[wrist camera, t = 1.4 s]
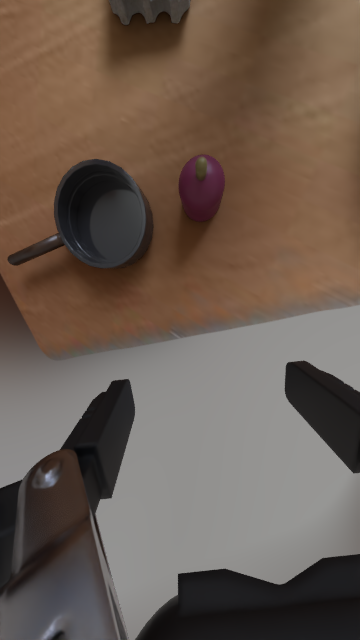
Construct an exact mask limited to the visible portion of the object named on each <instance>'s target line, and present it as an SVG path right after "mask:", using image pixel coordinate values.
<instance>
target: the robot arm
mask: <svg viewBox="0 0 360 640" xmlns="http://www.w3.org/2000/svg"><path fill="white" fill-rule="evenodd" d="M285 394H286V397H287V399H288V400H289V402H290V403H291V404H292V405H293V407H294V408H295V409H296V410H297V411H298V412H299V413H300V415H301V416H302V417H303V418H304V419H305V420H306V421H307V422H308V423H309V425H310V426H311V427H312V428H313V429H314V430H315V431H316V432H317V433H318V435H319V436H320V437H321V438H322V439H323V440H324V441H325V442H326V443H327V445H328V446H329V447H330V448H331V449H332V450H333V451H334V452H335V453H336V455H337V456H338V457H339V458H340V459H341V460H342V461H343V462H344V463H345V464H346V466H347V467H348V468H349V469H350V470H351V471H352V472H353V473H360V392H358V391H357V390H354V389H353V388H352V387H350V386H349V385H347V384H344V382H343V381H341V380H339V379H338V378H336V377H335V376H333V375H331V374H329V373H326V372H324V371H321V370H319V369H317V368H316V367H314V366H313V365H311V364H310V363H308V362H306V361H297V362H288V363H287V365H286V376H285ZM134 416H135V406H134V400H133V395H132V390H131V385H130V381H129V380H128V379H124V380H115V381H112V382H111V384H110V386H109V388H108V389H107V391H106V392H102V393H101V394H99V395H98V396H97V397H96V398H95V399H93V401H92V402H91V404H90V405H89V407H88V408H87V411H85V413H84V414H83V416H82V419H80V420H79V422H78V423H77V425H76V426H75V428H74V429H73V431H72V432H71V434H70V435H69V437H68V438H67V440H66V441H65V443H64V445H63V446H62V447H61V449H60V450H59V451H56V452H53V453H51V454H50V455H48V456H46V457H45V458H43V459H42V460H40V461H39V462H38V463H37V464H36V465H34V466H33V467H32V468H31V469H30V471H29V472H28V473H27V475H26V476H25V477H24V479H23V480H21V481H18V482H15V483H13V484H10V485H7V486H5V487H3V488H0V640H129V637H128V633H127V630H126V626H125V622H124V619H123V615H122V611H121V608H120V604H119V601H118V598H117V594H116V591H115V587H114V583H113V579H112V575H111V572H110V568H109V564H108V560H107V556H106V553H105V549H104V545H103V541H102V537H101V533H100V529H99V526H98V522H97V518H96V514H95V513H96V510H97V507H98V504H99V501H100V499H107V498H112V494H113V490H114V487H115V483H116V480H117V476H118V473H119V470H120V466H121V462H122V459H123V456H124V452H125V449H126V445H127V442H128V438H129V434H130V431H131V428H132V424H133V421H134ZM135 640H360V554H357V555H348V556H338V557H329V558H322V559H321V560H319V561H318V562H316V563H315V564H313V565H312V566H310V567H309V568H307V569H306V570H304V571H303V572H301V573H300V574H298V575H297V576H295V577H294V578H292V579H291V580H289V581H288V582H287V583H285V584H281V585H278V584H274V583H270V582H267V581H264V580H260V579H257V578H254V577H250V576H247V575H244V574H241V573H237V572H234V571H231V570H228V569H219V570H209V571H200V572H191V573H181V574H178V595H177V596H175V597H174V598H172V599H170V600H169V601H168V602H167V603H166V604H164V605H163V606H162V607H161V608H160V609H159V610H158V611H157V612H156V613H155V614H154V615H153V616H152V618H151V619H150V620H149V621H148V622H147V623H146V625H145V626H144V628H143V629H142V630H141V632H140V633H139V635H138V636H137V638H136V639H135Z"/></svg>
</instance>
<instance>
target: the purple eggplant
mask: <svg viewBox="0 0 360 640" xmlns="http://www.w3.org/2000/svg"><path fill="white" fill-rule="evenodd" d="M224 186H225V177H224V172H223V169H222V167H221V165H220V164H219V162H218V161H217V160H216V159H215V158H213V157H211V156H209V155H198V156H195V157H193V158H192V159H190V160H189V161H188V162H187V163H186V164H185V166H184V167H183V169H182V171H181V174H180V177H179V194H180V198H181V201H182V204H183V208H184V211H185V213H186V214H187V216H188V217H189V218H191V219H192V220H194V221H199V222H202V221H206V220H209V219H210V218H212V217H213V216H214V215H215V214H216V212H217V210H218V208H219V206H220V202H221V199H222V195H223V191H224Z"/></svg>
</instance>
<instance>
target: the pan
mask: <svg viewBox="0 0 360 640" xmlns="http://www.w3.org/2000/svg"><path fill="white" fill-rule="evenodd" d="M54 217H55V222H56V226H57V230H58V232H59V234H60V237H61V239H62V241H63V243H64V244H65V245H66V247H67V248H68V249H69V251H70V252H71V253H72V254H73V255H74V256H75V257H77V258H78V259H79V260H80V261H82V262H84V263H86V264H88V265H90V266H93V267H98V268H110V269H115V268H124V267H127V266H130V265H132V264H134V263H135V262H136V261H138V260H139V259H140V258H141V257H142V256H143V255H144V253H145V252H146V251H147V249H148V247H149V244H150V242H151V239H152V234H153V215H152V211H151V208H150V205H149V202H148V200H147V199H146V197H145V195H144V194H143V192H142V191H141V189H140V188H139V187H138V185H137V184H136V183H135V181H134V180H133V179H132V177H131V176H130V175H128V174H127V173H126V172H125V171H124V170H123V169H122V168H121V167H119V166H117V165H115V164H113V163H111V162H110V161H105V160H99V159H92V160H86V161H82V162H80V163H78V164H77V165H75V166H73V167H72V168H71V169H70V170H69V171H68V172H67V173H66V174H65V175H64V176H63V178H62V180H61V182H60V184H59V186H58V188H57V191H56V196H55V200H54Z"/></svg>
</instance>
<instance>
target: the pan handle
mask: <svg viewBox="0 0 360 640" xmlns="http://www.w3.org/2000/svg"><path fill="white" fill-rule="evenodd" d="M63 245H65V244H64V243H63V241H62V239H61V237H60V234H59V233H57V234H55V235H53V236H51V237H49V238H46V239H44V240H42V241H40V242H38V243H36V244H33V245H31V246H29V247H27V248H25V249H23V250H20V251H18V252H16V253H14V254H12V255H10V256H9V257H8V262H9V263H10V264H12V265H16V266H17V265H20V264H23V263H25V262H27V261H29V260H32V259H34V258H36V257H38V256H41V255H43V254H45V253H47V252H50V251H52V250H54V249H57V248H59V247H61V246H63Z"/></svg>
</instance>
